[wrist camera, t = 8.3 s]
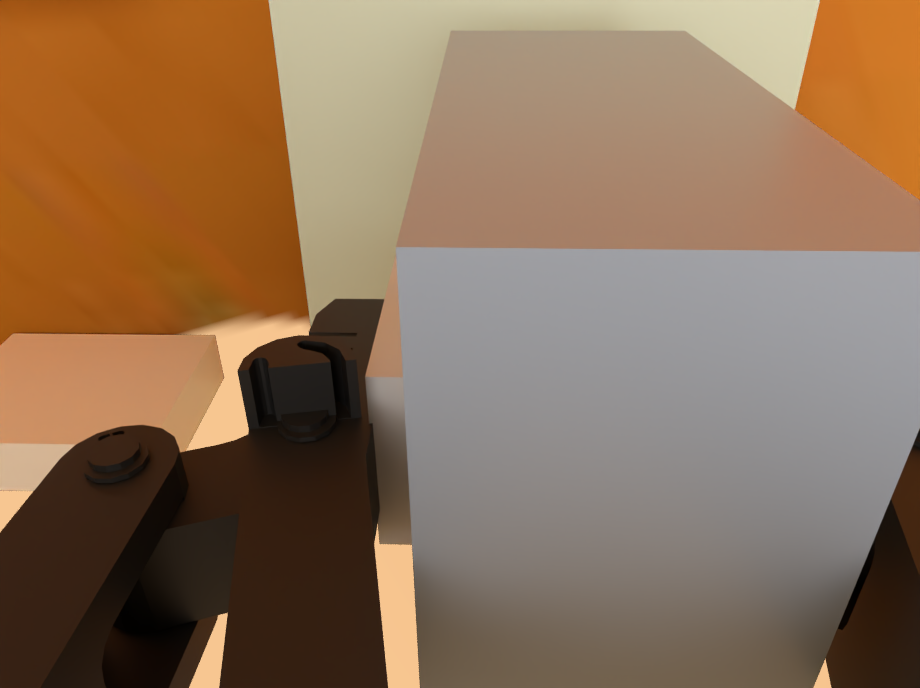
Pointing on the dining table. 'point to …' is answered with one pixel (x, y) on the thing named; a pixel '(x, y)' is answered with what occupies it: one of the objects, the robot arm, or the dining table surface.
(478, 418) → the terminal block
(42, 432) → the white rectangular blocks
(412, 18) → the sage mat
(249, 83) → the dining table surface
